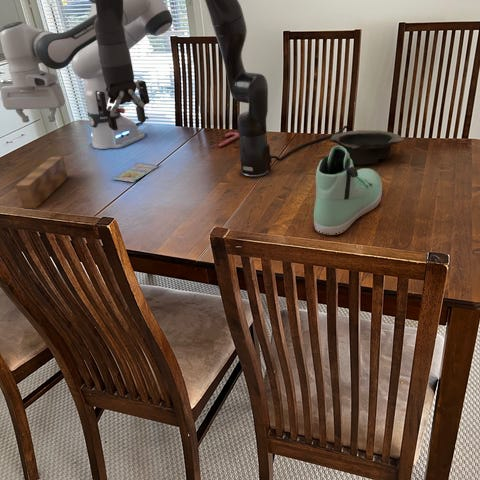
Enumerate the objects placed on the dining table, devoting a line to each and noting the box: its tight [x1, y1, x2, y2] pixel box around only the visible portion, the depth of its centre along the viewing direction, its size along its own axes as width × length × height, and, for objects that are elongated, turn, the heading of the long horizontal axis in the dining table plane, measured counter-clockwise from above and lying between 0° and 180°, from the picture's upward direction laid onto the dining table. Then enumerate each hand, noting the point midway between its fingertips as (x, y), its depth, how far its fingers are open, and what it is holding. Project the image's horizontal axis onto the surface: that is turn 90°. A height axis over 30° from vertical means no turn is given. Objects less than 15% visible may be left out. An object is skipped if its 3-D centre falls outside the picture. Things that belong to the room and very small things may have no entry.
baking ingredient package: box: [113, 163, 158, 183], centre depth 172 cm, size 9×1×15 cm
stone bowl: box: [329, 129, 404, 166], centre depth 169 cm, size 25×25×9 cm
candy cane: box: [218, 131, 239, 148], centre depth 194 cm, size 6×15×2 cm, turn 145°
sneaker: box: [313, 145, 383, 236], centre depth 133 cm, size 14×35×20 cm, turn 152°
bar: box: [15, 156, 69, 209], centre depth 162 cm, size 24×4×8 cm, turn 172°
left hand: (39, 121), depth 159 cm, fingers open, 8 cm apart
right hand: (128, 125), depth 128 cm, fingers open, 8 cm apart
